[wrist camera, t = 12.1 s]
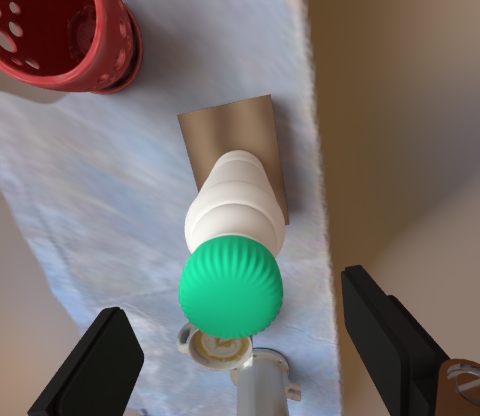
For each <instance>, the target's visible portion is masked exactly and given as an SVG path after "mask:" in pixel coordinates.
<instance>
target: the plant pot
mask: <svg viewBox="0 0 480 416" xmlns="http://www.w3.org/2000/svg"><path fill="white" fill-rule="evenodd" d="M10 2H14V3H15V5H16V6H17V12H16V13H12V11H11V10H10V8H9V4H10ZM9 22H13V23H14V24H15V25H16V27H17V28H18V31H19V36H18V37H17V36H15V35H14V34H13V33H12V32H11V30H10V28H9ZM0 32H1V33H2V34H4V36H5V37H6V38H7V39H8V41H9V42H10V44H11V46H12V49H13V52H9V51H7V50H5V49H4V48H2V47H1V46H0V70H2V71H3V72H5V73H6V74H8V75H10V76H11V77H13V78H15V79H17V80H19V81H21V82H24V83H27V84H30V85H33V86H36V87H40V88H44V89H49V90H55V91H64V92H91V93H95V94H112V93H116V92H118V91H121V90H122V89H124V88H126V87H127V86H128V85H129V84H131V83H132V81H133V80H134V79H135V77H136V76H137V74H138V72H139V70H140V67H141V63H142V58H143V44H142V37H141V34H140V30H139V27H138V25H137V22H136V20H135V18H134V16H133V15H132V13H131V12H130V10H129V9H128V8H127V6H126V5H125V4H124V3H123V2H122V0H0ZM12 60H13V61H14V62H13V61H12ZM26 61H28V62H30V63H31V64H33V65H34V66H35V67H36V68H37V69H36V68H34V67H32V66H30V65H29V64H27V63H26Z"/></svg>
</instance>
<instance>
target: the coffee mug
mask: <svg viewBox="0 0 480 416" xmlns="http://www.w3.org/2000/svg"><path fill="white" fill-rule="evenodd" d="M188 336H189V339H188V342H187V338H188ZM186 342H187V343H186ZM177 347H178V349H179V351H180V352H181V353H183V354H190V356H191V358H192V359H193V360H194V361H195V362H196V363H197V364H199V365H200V366H202V367H204V368H207V369H210V370H216V371H225V370H231V369H235V368H237V367H239V366H241V365H243V364H244V363H245V362H246V361H247V360H248V359H249V357H250V356H251V353H252V349H253V341H252V335H251V336H250V337H243V338H242V339H239V338H235V339H233V340H232V339H230V338H228V339H226V340H224V339H223V338H221V337H220V338H216V337H214V336H208V335H207V333H202V332H201V331H200V329H198V328H195V326H194V324H192V323H190V322H189V323H187V324H186V325H185V326H184V327H183V328H182V329H181V331H180V333H179V335H178V339H177Z"/></svg>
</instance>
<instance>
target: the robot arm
mask: <svg viewBox="0 0 480 416" xmlns="http://www.w3.org/2000/svg"><path fill="white" fill-rule="evenodd" d="M341 280H342V294H343V307H344V318H345V326H346V329H347V331H348V333H349V335H350V337H351V339H352V341H353V343H354V345H355V347H356V349H357V351H358V353H359V355H360V357H361V359H362V361H363V363H364V365H365V367H366V369H367V371H368V372H369V374H370V376H371V378H372V380H373V382H374V384H375V386H376V388H377V390H378V392H379V394H380V396H381V398H382V400H383V402H384V404H385V406H386V408H387V409H388V411H389V413H390V415H391V416H480V364H479V363H476V362H473V361H470V360H466V359H450V358H449V357H448V355H447V354H446V353H445V352H444V351H443V350H442V349H441V347H440V346H439V345H438V344H437V343H436V342H435V341H434V340H433V338H432V337H431V336H430V335H429V334H428V333H427V332H426V331H425V329H424V328H423V327H422V326H421V325H420V324H419V323H418V322H417V320H416V319H415V318H414V317H413V316H412V315H411V314H410V313H409V311H408V310H407V309H406V308H405V307H404V306H403V305H402V304H401V302H400V301H399V300H398V299H397V298H396V297H394V296H393V295H388V296H387V295H386V294H385V293H384V292H383V291H382V290H381V288H380V287H379V286H378V285H377V284H376V282H375V281H374V280H373V279H372V278H371V276H370V275H369V274H368V273H367V272H366V270H365V269H364V268H363V267H362V266H361V265H355V266H349V267H346V268H345V271H342V272H341ZM143 363H144V353H143V351H142V349H141V347H140V345H139V342H138V340H137V338H136V336H135V334H134V331H133V329H132V327H131V325H130V323H129V320H128V318H127V316H126V314H125V312H124V310H123V309H120V308H119V307H111V308H105V309H103V310H102V311H101V312H100V314H99V315H98V316H97V318H96V319H95V320H94V322H93V323H92V324H91V326H90V327H89V329H88V330H87V331H86V333H85V334H84V335H83V337H82V338H81V340H80V341H79V342H78V344H77V345H76V346H75V348H74V349H73V351H72V352H71V353H70V355H69V356H68V357H67V359H66V360H65V361H64V363H63V364H62V366H61V367H60V368H59V370H58V371H57V372H56V374H55V375H54V377H53V378H52V379H51V381H50V382H49V384H48V385H47V386H46V388H45V389H44V390H43V392H42V393H41V394H40V396H39V397H38V399H37V400H36V401H35V403H34V404H33V405H32V407H31V408H30V409H29V411H28V412H27V414H28V415H29V416H123V413H124V411H125V408H126V406H127V403H128V401H129V398H130V396H131V393H132V391H133V388H134V386H135V383H136V381H137V378H138V376H139V373H140V371H141V368H142V366H143ZM230 377H231V380H232V382H233V383H234V384H235V385H236V386H237V416H289V411H288V405H287V398H289V399H291V400H296V401H300V400H301V391H300V383H297V382H292V381H290V380H289V379H288V377H289V366H288V363H287V361H286V360H285V358H284V357H283V356H282V355H280V354H279V353H277V352H275V351H272V350H268V349H252V353H251V356H250V357H249V359H248V360H247V361H246V362H245V363H244V364H243V365H241V366H239V367H237V368H235V369H231V370H230Z"/></svg>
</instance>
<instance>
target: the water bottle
mask: <svg viewBox="0 0 480 416" xmlns="http://www.w3.org/2000/svg"><path fill="white" fill-rule="evenodd" d="M185 237H186V242H187V245H188V248H189V250H190V252H191V254H192V255H191V256H190V258H189V259H188V261H187V263H186V265H185V267H184V270H183V273H182V275H181V279H180V285H179V302H180V304H181V309H182V310H183V311H184V315H185V316H186V317H187V318H188V319H189V322H190V323H192V324H194V326H195V328H198V329H200V331H201V332H202V333H207V335H208V336H214V337H216V338H220V337H221V338H223V339H224V340H226V339H228V338H230V339H232V340H233V339H235V338H239V339H242V338H243V337H250V336H251V335H256V334H257V333H258V332H261V331H263V330H264V329H265V327H268V326H269V325H270V324H271V322H272V321H274V319H275V318H276V315H277V314H278V313H279V309H280V307H281V305H282V298H283V285H282V279H281V274H280V271H279V268H278V265H277V263H276V260H275V258H276V257H277V255H278V254H279V252H280V250H281V248H282V245H283V242H284V238H285V221H284V217H283V213H282V211H281V209H280V207H279V205H278V203H277V202H276V198H275V195H274V192H273V190H272V187H271V185H270V183H269V181H268V179H267V176H266V173H265V171H264V168H263V166H262V164H261V162H260V161H259V159H258V158H257V157H256V156H254V155H253V154H251V153H249V152H247V151H243V150H235V151H230V152H228V153H226V154H224V155H223V156H221V157H220V158H219V159H218V161H217V162H216V164H215V166H214V168H213V169H212V171H211V173H210V175H209V177H208V178H207V180H206V181H205V183H204V185H203V186H202V188H201V190H200V192H199V194H198V197H197V198H196V199H195V200H194V202H193V203H192V205H191V206H190V208H189V211H188V213H187V216H186V221H185Z"/></svg>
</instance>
